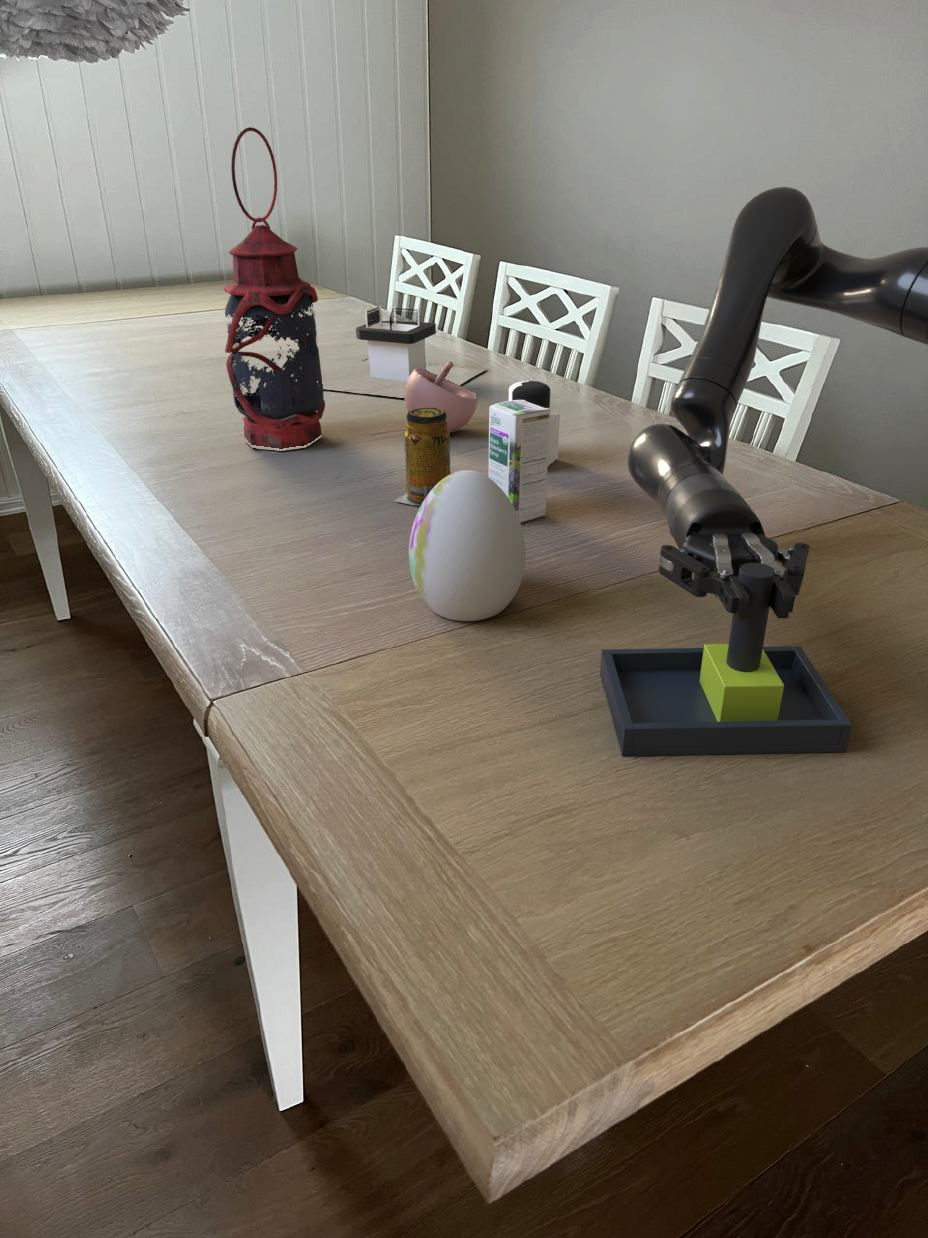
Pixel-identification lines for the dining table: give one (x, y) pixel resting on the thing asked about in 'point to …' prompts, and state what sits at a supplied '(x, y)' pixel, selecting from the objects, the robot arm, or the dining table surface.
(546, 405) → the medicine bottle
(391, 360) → the black-topped pedestal
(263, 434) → the lantern
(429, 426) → the condiment
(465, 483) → the decorative egg
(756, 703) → the sponge wand
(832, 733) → the tray
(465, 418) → the mortar and pestle
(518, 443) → the syrup box
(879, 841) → the dining table surface
